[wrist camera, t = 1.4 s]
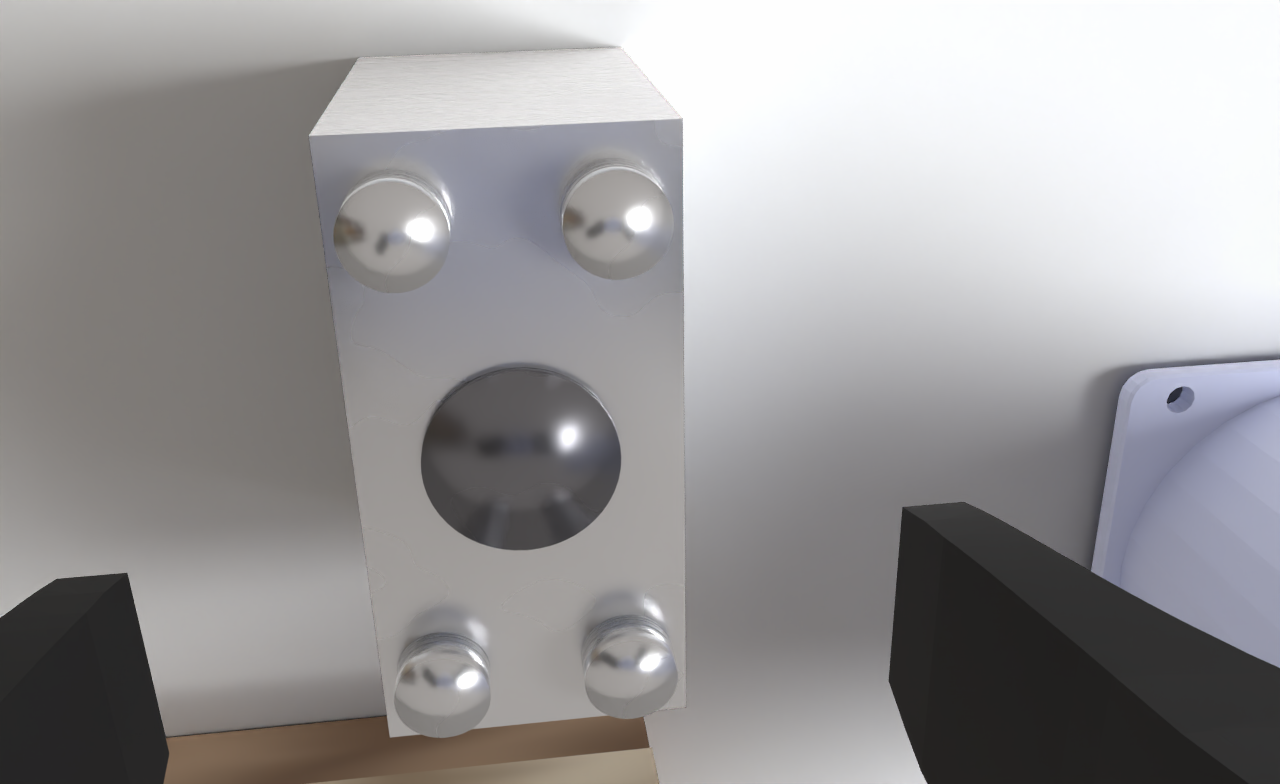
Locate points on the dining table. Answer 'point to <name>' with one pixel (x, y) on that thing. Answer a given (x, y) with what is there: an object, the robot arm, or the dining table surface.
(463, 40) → the dining table surface
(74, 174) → the dining table surface
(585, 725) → the stand
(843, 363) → the dining table surface
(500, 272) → the block
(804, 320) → the dining table surface
